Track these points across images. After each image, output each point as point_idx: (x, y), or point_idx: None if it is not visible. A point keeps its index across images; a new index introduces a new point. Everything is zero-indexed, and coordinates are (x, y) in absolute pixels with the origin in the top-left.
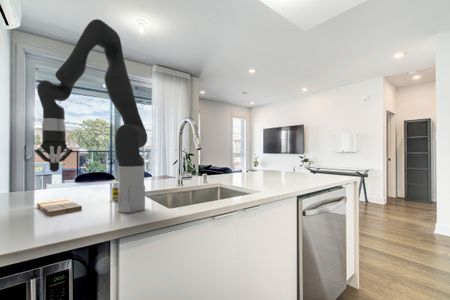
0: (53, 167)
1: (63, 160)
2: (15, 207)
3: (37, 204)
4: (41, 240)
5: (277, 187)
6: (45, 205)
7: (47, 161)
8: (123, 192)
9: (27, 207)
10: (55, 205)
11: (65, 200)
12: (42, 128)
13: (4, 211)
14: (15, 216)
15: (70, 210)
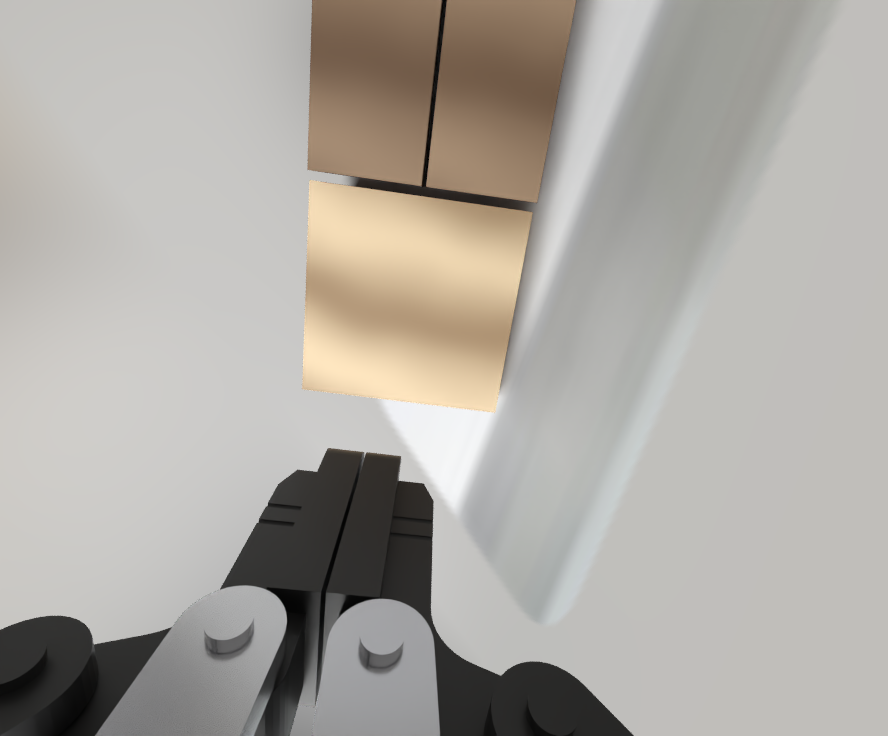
0: (381, 504)
1: (31, 629)
2: (563, 505)
3: (497, 386)
4: None
5: None
6: (498, 250)
7: (507, 685)
8: None
9: (527, 441)
10: (452, 173)
11: (327, 306)
12: None
13: (644, 444)
14: (685, 219)
15: None
